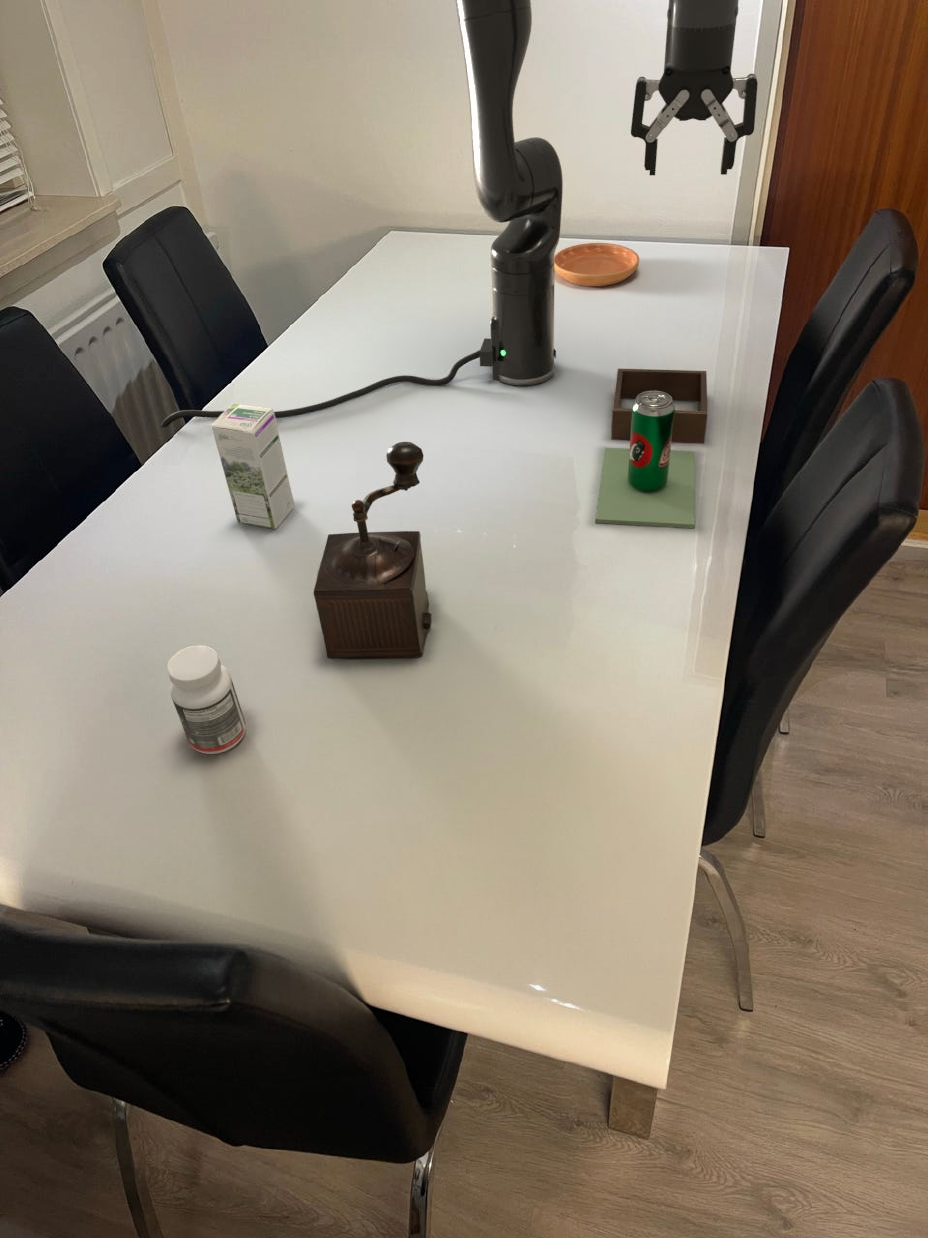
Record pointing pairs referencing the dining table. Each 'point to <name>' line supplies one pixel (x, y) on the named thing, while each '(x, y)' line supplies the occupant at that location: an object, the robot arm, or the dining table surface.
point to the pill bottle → (205, 700)
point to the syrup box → (254, 465)
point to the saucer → (596, 263)
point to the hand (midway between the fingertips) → (687, 173)
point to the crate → (673, 383)
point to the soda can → (650, 441)
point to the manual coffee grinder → (375, 580)
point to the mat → (647, 493)
